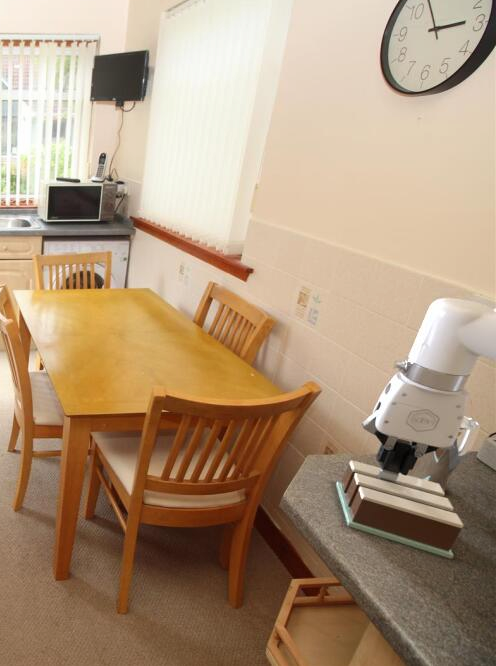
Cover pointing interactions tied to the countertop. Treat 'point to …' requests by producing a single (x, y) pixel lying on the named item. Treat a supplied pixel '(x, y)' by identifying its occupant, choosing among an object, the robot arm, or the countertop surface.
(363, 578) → the countertop surface
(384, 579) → the countertop surface
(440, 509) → the slatted panel
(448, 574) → the countertop surface
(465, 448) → the beer glass
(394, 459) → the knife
